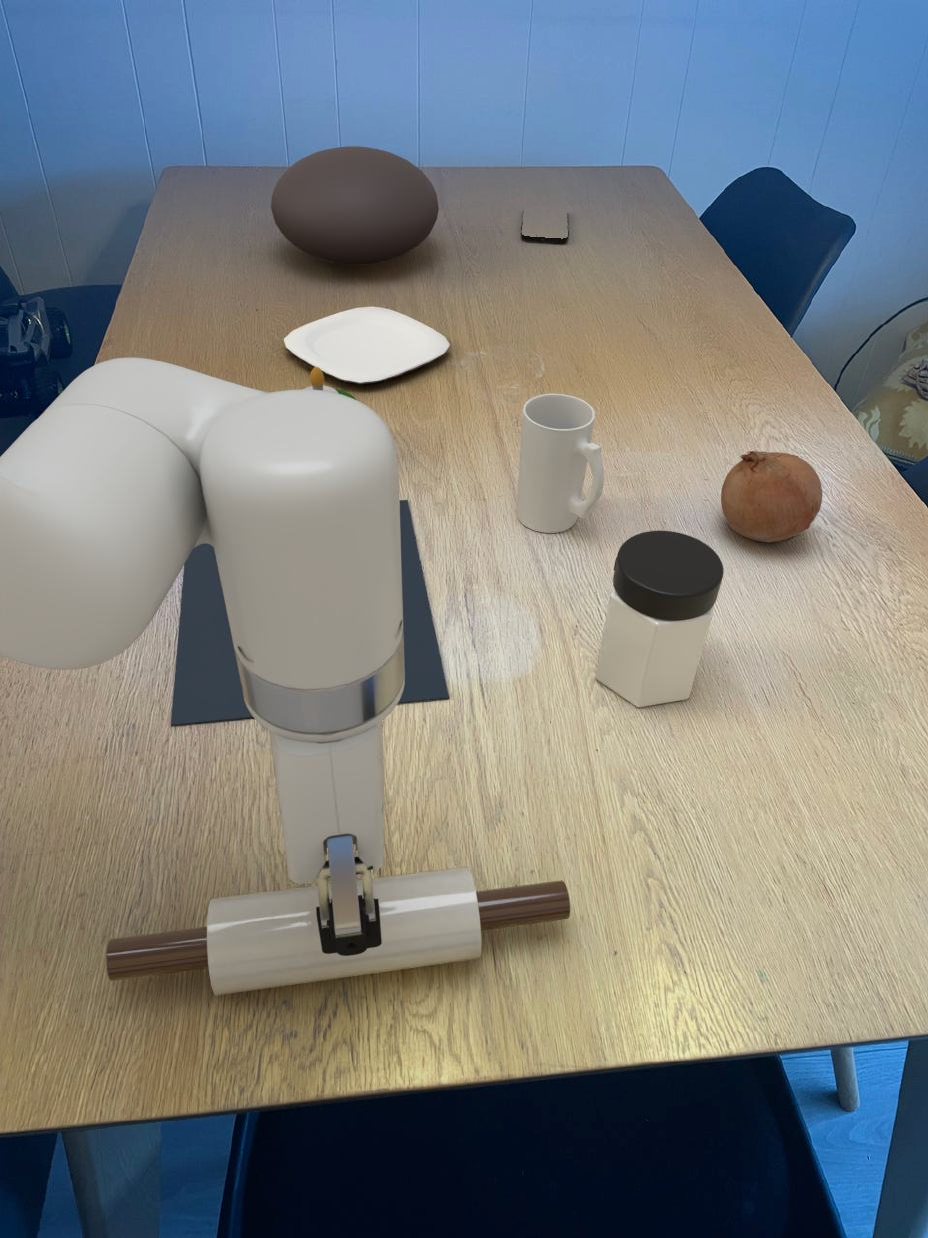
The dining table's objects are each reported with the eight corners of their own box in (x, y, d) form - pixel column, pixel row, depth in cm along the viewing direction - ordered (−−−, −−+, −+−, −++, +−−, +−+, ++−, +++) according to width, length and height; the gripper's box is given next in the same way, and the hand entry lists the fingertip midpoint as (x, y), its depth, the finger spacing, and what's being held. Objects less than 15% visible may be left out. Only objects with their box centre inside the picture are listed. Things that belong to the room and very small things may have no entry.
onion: (715, 551, 97) (689, 469, 92) (779, 503, 99) (757, 420, 94) (785, 574, 89) (760, 486, 84) (852, 522, 91) (832, 432, 86)
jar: (673, 631, 83) (701, 522, 75) (713, 697, 77) (748, 586, 69) (578, 646, 81) (596, 536, 73) (612, 714, 75) (635, 603, 67)
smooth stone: (250, 242, 146) (237, 139, 136) (388, 217, 157) (387, 119, 147) (320, 301, 131) (312, 190, 121) (468, 268, 142) (472, 163, 132)
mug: (500, 510, 96) (508, 405, 88) (549, 489, 99) (561, 386, 91) (565, 560, 90) (580, 454, 82) (615, 536, 93) (635, 431, 85)
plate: (466, 356, 121) (466, 343, 120) (358, 402, 111) (357, 389, 110) (374, 310, 130) (374, 298, 129) (268, 349, 120) (266, 336, 119)
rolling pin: (550, 873, 64) (562, 841, 59) (568, 956, 60) (582, 929, 56) (124, 928, 59) (102, 898, 55) (119, 1020, 56) (95, 996, 52)
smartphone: (569, 206, 161) (569, 238, 150) (568, 212, 161) (568, 244, 150) (523, 203, 161) (520, 235, 150) (523, 209, 162) (519, 240, 151)
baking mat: (449, 699, 76) (449, 697, 76) (171, 726, 73) (170, 724, 73) (407, 501, 96) (407, 499, 96) (188, 515, 93) (188, 514, 93)
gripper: (240, 550, 48) (277, 760, 60) (236, 825, 36) (283, 1025, 47) (384, 538, 49) (393, 747, 61) (429, 802, 37) (430, 1002, 48)
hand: (345, 868), depth 54 cm, fingers open, 9 cm apart
